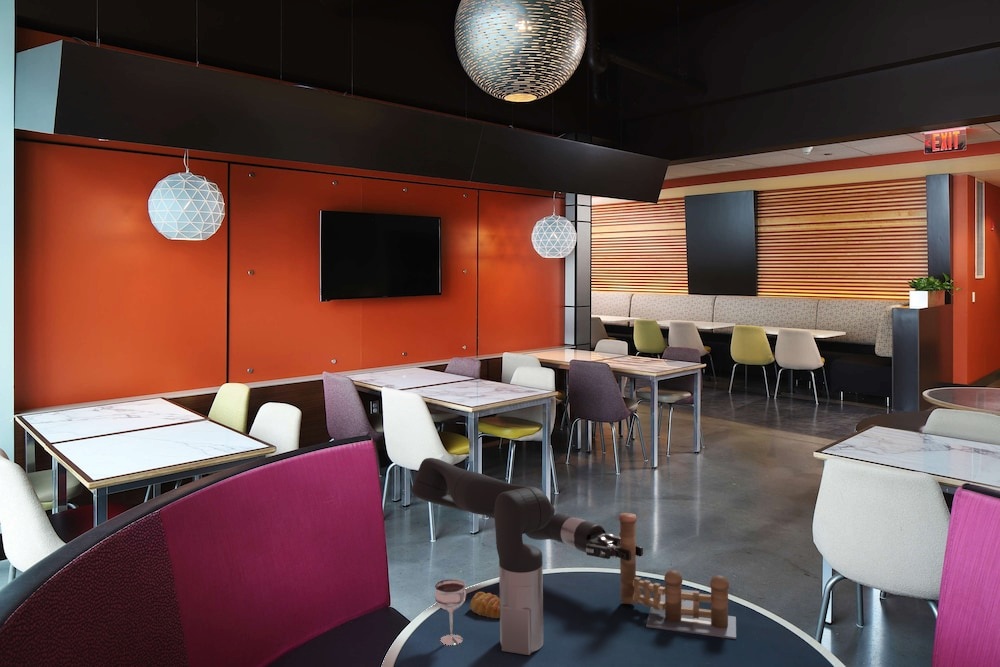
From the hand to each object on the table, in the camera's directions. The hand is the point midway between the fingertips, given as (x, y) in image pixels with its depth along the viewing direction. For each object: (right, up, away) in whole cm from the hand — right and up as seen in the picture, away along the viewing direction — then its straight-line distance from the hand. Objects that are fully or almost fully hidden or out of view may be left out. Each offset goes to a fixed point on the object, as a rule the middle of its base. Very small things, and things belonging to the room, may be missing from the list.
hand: (635, 554), depth 163 cm
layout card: (+13, -13, -1) cm, 18 cm away
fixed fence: (+12, -13, -7) cm, 19 cm away
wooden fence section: (+1, -12, 0) cm, 12 cm away
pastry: (-35, -14, +1) cm, 37 cm away
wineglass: (-42, -15, -13) cm, 47 cm away
